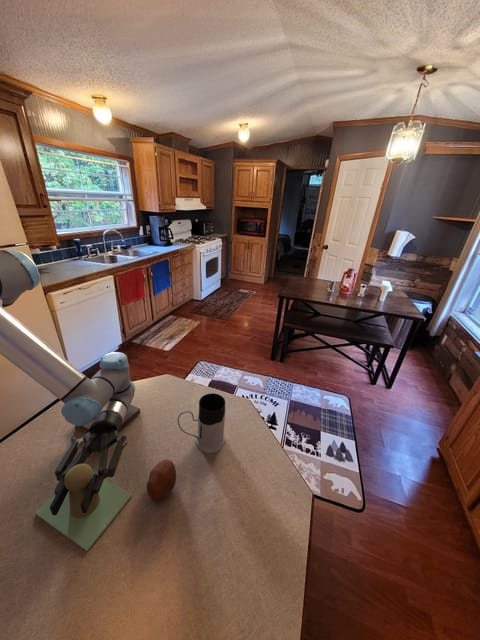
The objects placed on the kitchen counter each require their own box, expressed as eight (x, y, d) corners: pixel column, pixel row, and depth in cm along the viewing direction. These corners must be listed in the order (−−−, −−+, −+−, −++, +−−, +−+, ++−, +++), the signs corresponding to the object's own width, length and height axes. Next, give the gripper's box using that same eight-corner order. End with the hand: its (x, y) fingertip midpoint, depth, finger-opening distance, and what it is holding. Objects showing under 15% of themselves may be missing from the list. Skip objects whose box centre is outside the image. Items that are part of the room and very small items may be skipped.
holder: (75, 426, 78) (74, 421, 77) (110, 400, 90) (110, 395, 89) (107, 443, 74) (106, 437, 73) (140, 413, 86) (140, 408, 85)
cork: (73, 493, 60) (65, 462, 56) (102, 487, 62) (95, 456, 58) (66, 521, 55) (55, 488, 51) (97, 513, 57) (90, 481, 52)
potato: (138, 498, 61) (135, 481, 58) (162, 466, 69) (161, 449, 66) (162, 511, 59) (161, 493, 56) (184, 476, 67) (184, 459, 64)
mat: (35, 514, 56) (34, 512, 56) (84, 469, 66) (84, 467, 66) (87, 552, 51) (86, 550, 51) (132, 496, 61) (131, 495, 61)
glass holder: (228, 448, 76) (231, 409, 70) (180, 461, 71) (180, 421, 65) (219, 426, 83) (222, 389, 77) (175, 437, 78) (174, 398, 72)
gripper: (142, 430, 75) (117, 517, 54) (77, 432, 72) (23, 525, 51) (140, 410, 72) (113, 494, 51) (72, 412, 69) (13, 501, 48)
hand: (68, 509), depth 51 cm, fingers open, 5 cm apart
